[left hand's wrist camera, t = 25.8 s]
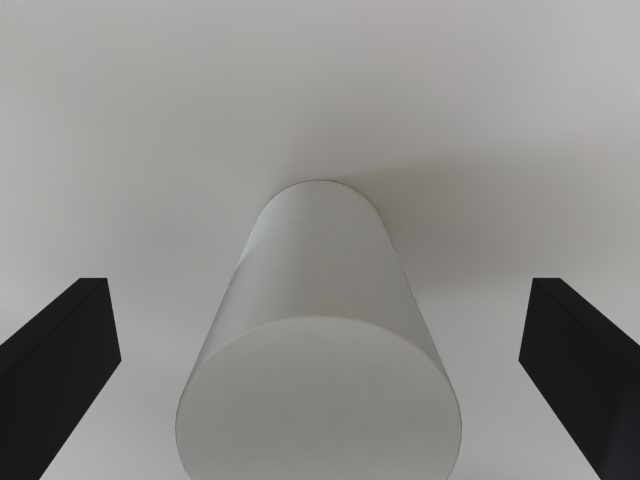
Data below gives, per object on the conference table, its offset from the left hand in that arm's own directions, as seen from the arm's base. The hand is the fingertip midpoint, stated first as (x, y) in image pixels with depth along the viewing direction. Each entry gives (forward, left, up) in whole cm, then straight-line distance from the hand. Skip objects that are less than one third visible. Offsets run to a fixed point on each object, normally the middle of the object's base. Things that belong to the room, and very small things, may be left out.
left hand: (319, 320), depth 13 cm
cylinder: (0, 0, -6) cm, 6 cm away
